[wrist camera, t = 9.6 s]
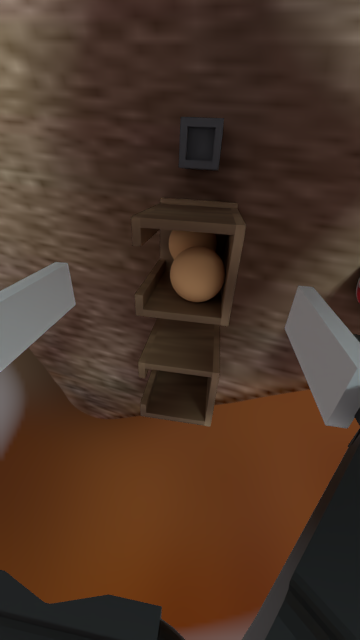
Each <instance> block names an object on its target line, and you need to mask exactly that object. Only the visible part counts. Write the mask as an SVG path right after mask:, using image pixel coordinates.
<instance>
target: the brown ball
mask: <svg viewBox="0 0 360 640" xmlns="http://www.w3.org/2000/svg"><path fill="white" fill-rule="evenodd" d="M170 279H171V283H172V286H173V288H174V290H175V291H176V292H177V294H178V295H180V296H181V297H182V298H184V299H185V300H188V301H191V302H204V301H207V300H209V299H211V298H213V297H214V296H215V295H216V294H217V293H218V292H219V291H220V290H221V288H222V286H223V284H224V280H225V267H224V264H223V262H222V260H221V258H220V257H219V256H218V255H217V254H216V253H215V252H214V251H213V250H211V249H209V248H206V247H202V246H194V247H190V248H187V249H185V250H183V251H182V252H181V253H179V254H178V255H177V257H176V258H175V259H174V261H173V263H172V266H171V270H170Z"/></svg>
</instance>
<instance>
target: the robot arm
mask: <svg viewBox="0 0 360 640" xmlns="http://www.w3.org/2000/svg"><path fill="white" fill-rule="evenodd" d="M75 305H76V303H75V298H74V293H73V287H72V282H71V277H70V272H69V266H68V263H62V262H55V263H53V264H51V265H49V266H47V267H45V268H43V269H41V270H39V271H37V272H36V273H34V274H32V275H30V276H28V277H26V278H24V279H22V280H20V281H18V282H17V283H15V284H13V285H11V286H9V287H7V288H5V289H3V290H1V291H0V372H1V371H2V370H3V369H5V367H7V366H8V365H9V364H10V363H11V362H12V361H14V360H15V359H16V358H17V357H18V356H19V355H20V354H21V353H22V352H24V351H25V350H26V349H27V348H28V347H29V346H30V345H31V344H33V343H34V342H35V341H36V340H37V339H38V338H39V337H40V336H41V335H43V334H44V333H45V332H46V331H47V330H48V329H49V328H50V327H51V326H53V325H54V324H55V323H56V322H57V321H58V320H59V319H60V318H62V317H63V316H64V315H65V314H66V313H67V312H68V311H69V310H70V309H72V308H73V307H74V306H75ZM285 331H286V333H287V335H288V338H289V340H290V342H291V345H292V347H293V350H294V352H295V354H296V357H297V359H298V361H299V364H300V366H301V368H302V371H303V373H304V375H305V378H306V380H307V383H308V385H309V387H310V390H311V392H312V394H313V397H314V399H315V401H316V404H317V406H318V408H319V411H320V413H321V416H322V418H323V420H324V423H325V425H328V426H335V427H342V428H348V427H349V426H350V424H351V422H352V421H353V419H354V418H356V420H357V422H358V423H359V425H360V335H357V334H352V333H351V332H350V330H349V329H348V328H347V327H346V326H345V324H344V323H343V322H342V321H341V320H340V318H339V317H338V316H337V315H336V314H335V312H334V311H333V310H332V309H331V308H330V307H329V305H328V304H327V303H326V302H325V301H324V299H323V298H322V297H321V296H320V295H319V293H318V292H317V291H316V290H315V289H314V287H308V286H298V288H297V291H296V294H295V297H294V301H293V304H292V307H291V310H290V313H289V316H288V319H287V322H286V325H285ZM348 447H349V448H348V449H347V451H346V453H345V455H344V457H343V459H342V461H341V463H340V464H339V466H338V468H337V470H336V472H335V473H334V475H333V477H332V479H331V481H330V482H329V484H328V486H327V488H326V490H325V492H324V494H323V495H322V497H321V499H320V501H319V503H318V505H317V506H316V508H315V510H314V512H313V514H312V515H311V517H310V519H309V521H308V523H307V524H306V526H305V528H304V530H303V532H302V534H301V535H300V537H299V539H298V541H297V543H296V545H295V546H294V548H293V550H292V552H291V554H290V556H289V557H288V559H287V561H286V563H285V565H284V567H283V569H282V570H281V572H280V574H279V576H278V578H277V579H276V581H275V583H274V585H273V587H272V589H271V591H270V592H269V595H268V596H267V598H266V600H265V601H264V603H263V605H262V607H261V609H260V611H259V612H258V614H257V616H256V618H255V619H254V621H253V623H252V624H251V626H250V627H249V629H248V631H247V632H246V634H245V635H244V637H243V639H242V640H360V429H359V430H358V432H357V433H356V435H355V436H354V438H353V439H352V440H351V442H350V443H349V445H348ZM161 609H162V607H161V606H156V605H152V604H148V603H143V602H139V601H135V600H130V599H125V598H121V597H116V596H112V595H103V596H97V597H91V598H85V599H79V600H73V601H67V602H60V603H54V604H48V603H45V602H43V601H42V600H40V599H39V598H38V597H36V596H35V595H34V594H33V593H31V592H30V591H29V590H28V589H27V588H25V587H24V586H23V585H22V584H20V583H19V582H18V581H17V580H15V579H14V578H13V577H12V576H10V575H9V574H8V573H7V572H5V571H2V570H0V640H185V639H184V638H183V637H182V636H181V635H180V634H179V633H178V632H177V631H176V630H175V629H174V628H173V627H172V626H170V625H169V624H168V623H166V622H165V621H164V620H162V619H161Z"/></svg>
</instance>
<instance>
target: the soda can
mask: <svg viewBox="0 0 360 640" xmlns="http://www.w3.org/2000/svg"><path fill="white" fill-rule="evenodd" d="M356 297H357V300H358V302H359V304H360V278H359V280H358V283H357V287H356Z"/></svg>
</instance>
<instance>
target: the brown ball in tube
mask: <svg viewBox="0 0 360 640" xmlns="http://www.w3.org/2000/svg"><path fill="white" fill-rule="evenodd" d="M194 246H202V247H206V248H209V249H211V250H213V251H214V252H215V251H216V247H217V239H216V235H215V233H202V232H190V231H177V230H172V232H171V234H170V237H169V250H170V253H171V255H172V257H173V259H175V258H176V257H177V255H178V254H179V253H181V252H182V251H183V250H185V249H187V248H190V247H194Z"/></svg>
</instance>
